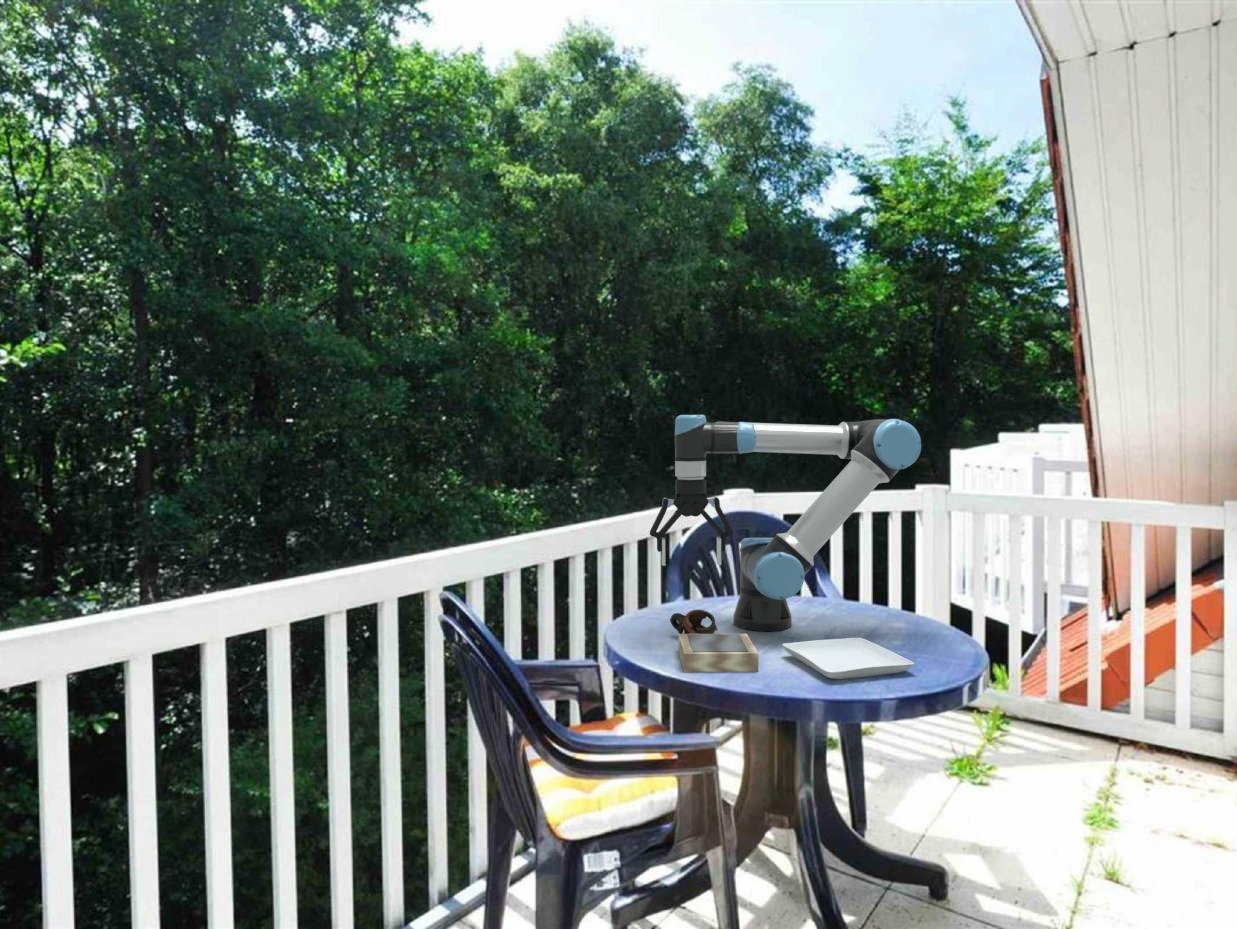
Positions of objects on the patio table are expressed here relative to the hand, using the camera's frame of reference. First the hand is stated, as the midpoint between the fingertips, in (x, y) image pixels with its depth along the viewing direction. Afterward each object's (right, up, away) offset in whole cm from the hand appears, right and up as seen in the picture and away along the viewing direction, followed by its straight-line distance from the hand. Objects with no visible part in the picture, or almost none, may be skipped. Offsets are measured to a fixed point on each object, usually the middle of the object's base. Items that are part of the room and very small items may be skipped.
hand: (691, 564), depth 204 cm
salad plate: (+32, -20, -21) cm, 43 cm away
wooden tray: (+4, -20, -17) cm, 26 cm away
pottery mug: (+1, -19, +2) cm, 19 cm away
